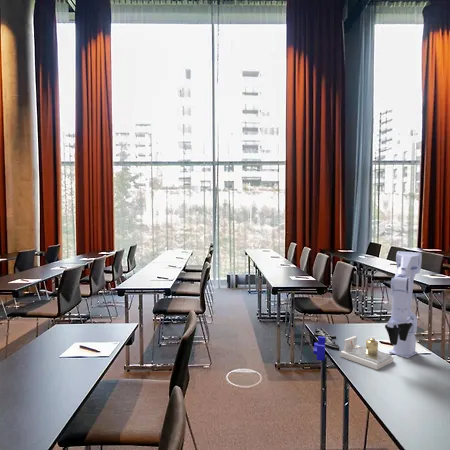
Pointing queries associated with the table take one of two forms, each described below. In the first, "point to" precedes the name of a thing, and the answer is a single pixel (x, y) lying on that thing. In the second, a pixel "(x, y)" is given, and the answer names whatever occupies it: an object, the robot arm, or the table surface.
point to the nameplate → (326, 338)
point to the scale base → (352, 344)
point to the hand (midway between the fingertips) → (398, 342)
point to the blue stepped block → (320, 348)
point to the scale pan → (362, 353)
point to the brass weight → (372, 347)
